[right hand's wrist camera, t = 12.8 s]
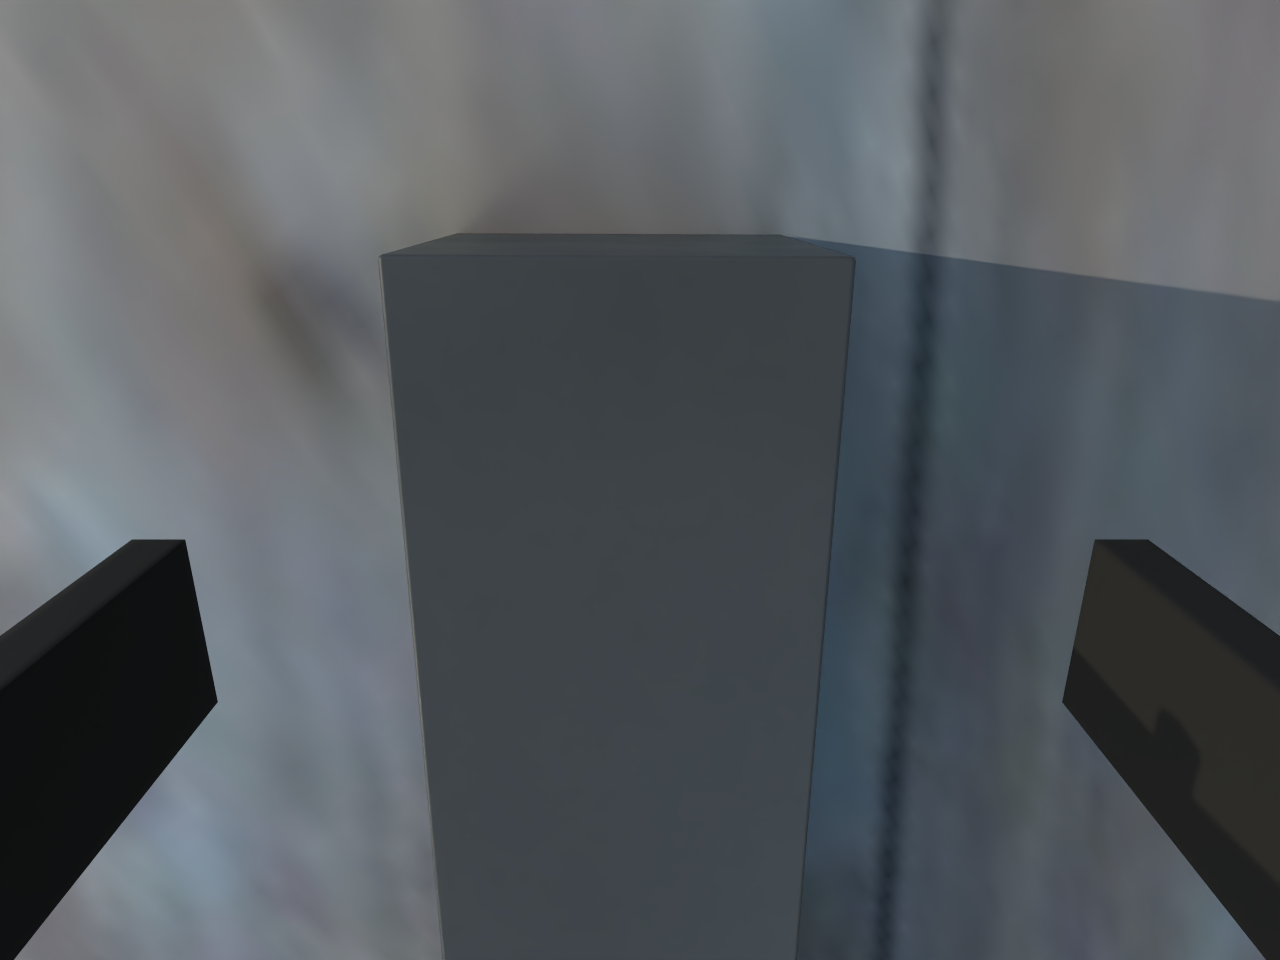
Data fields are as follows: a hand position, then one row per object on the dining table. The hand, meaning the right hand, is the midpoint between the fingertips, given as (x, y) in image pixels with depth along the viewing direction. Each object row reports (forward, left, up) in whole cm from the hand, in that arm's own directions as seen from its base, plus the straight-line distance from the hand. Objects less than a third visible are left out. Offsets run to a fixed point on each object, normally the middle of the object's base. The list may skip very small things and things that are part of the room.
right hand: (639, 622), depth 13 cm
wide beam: (+12, +20, -12) cm, 26 cm away
